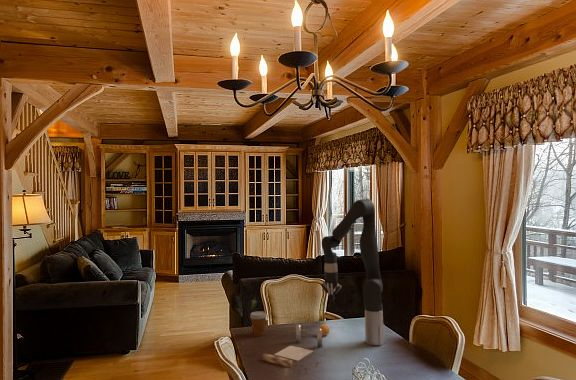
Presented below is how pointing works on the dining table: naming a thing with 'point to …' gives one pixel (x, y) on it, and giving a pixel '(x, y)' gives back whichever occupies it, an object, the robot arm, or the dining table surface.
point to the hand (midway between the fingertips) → (331, 300)
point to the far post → (298, 333)
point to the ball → (324, 329)
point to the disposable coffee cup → (258, 322)
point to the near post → (319, 337)
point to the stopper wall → (278, 360)
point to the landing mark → (294, 353)
